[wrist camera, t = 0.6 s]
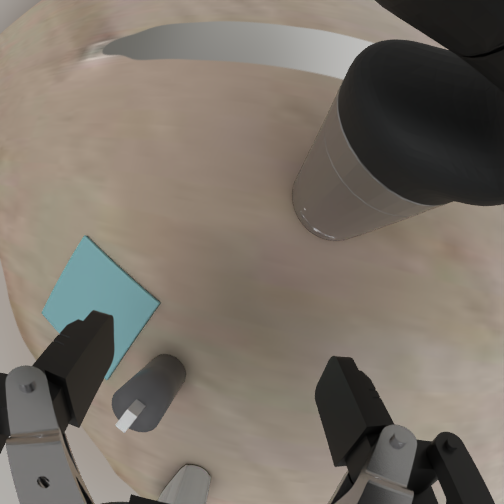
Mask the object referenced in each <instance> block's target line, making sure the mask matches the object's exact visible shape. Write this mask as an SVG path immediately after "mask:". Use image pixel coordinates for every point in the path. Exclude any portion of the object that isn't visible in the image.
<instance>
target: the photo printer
mask: <svg viewBox="0 0 504 504" xmlns="http://www.w3.org/2000/svg"><path fill="white" fill-rule="evenodd" d="M210 480H211V476H209V475H208V473H207V472H206V471H205V470H204V469H203V468H201V467H198V466H195V465H189V466H188V465H185V466H184V467H183V468H181V469H180V470H179V472H178V473H177V474H176V475H175V476H174V478H173V479H172V480H171V481H170V482H169V484H168V485H167V486H166V488H165V489H164V490H163V492H162V493H161V495H160V496H159V499H158V501H159V502H164V503H169V504H206V501H207V496H208V491H209V486H210Z"/></svg>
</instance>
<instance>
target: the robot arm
mask: <svg viewBox="0 0 504 504" xmlns="http://www.w3.org/2000/svg"><path fill="white" fill-rule="evenodd" d="M375 1H376V2H377V3H379V4H380V5H381V6H382V7H384V8H385V9H387V10H388V11H390V12H391V13H393V14H394V15H396V16H397V17H398V18H400V19H402V20H403V21H405V22H406V23H408V24H410V25H411V26H413V27H414V28H416V29H418V30H419V31H421V32H422V33H424V34H425V35H427V36H428V37H430V38H432V39H433V40H435V41H436V42H438V43H439V44H441V45H442V46H444V47H445V48H447V49H448V50H446V49H442V48H438V47H434V46H430V45H427V44H423V43H419V42H414V41H408V40H386V41H380V42H377V43H375V44H372V45H370V46H368V47H367V48H366V49H364V50H363V51H362V52H361V53H360V54H359V55H358V56H357V57H356V58H355V60H354V61H353V63H352V64H351V66H350V68H349V70H348V72H347V74H346V76H345V78H344V80H343V82H342V85H341V86H340V89H339V91H338V93H337V95H336V97H335V99H334V101H333V103H332V105H331V107H330V110H329V112H328V114H327V116H326V118H325V120H324V123H323V125H322V127H321V129H320V131H319V133H318V135H317V137H316V139H315V141H314V143H313V145H312V147H311V149H310V151H309V154H308V156H307V158H306V160H305V162H304V164H303V166H302V168H301V170H300V172H299V174H298V176H297V178H296V181H295V183H294V187H293V191H292V192H293V205H294V209H295V211H296V214H297V216H298V218H299V219H300V221H301V222H302V224H303V225H304V226H305V227H306V228H307V229H308V230H309V231H310V232H312V233H313V234H315V235H317V236H318V237H321V238H324V239H327V240H334V241H339V240H346V239H349V238H352V237H355V236H358V235H361V234H364V233H367V232H370V231H373V230H376V229H379V228H381V227H384V226H387V225H390V224H393V223H395V222H398V221H401V220H404V219H407V218H409V217H412V216H415V215H418V214H420V213H423V212H425V211H428V210H431V209H434V208H436V207H439V206H442V205H445V204H447V203H450V202H453V201H456V202H461V203H465V204H470V205H478V206H494V205H501V204H504V0H375ZM114 351H115V347H114V318H113V316H112V315H109V314H106V313H102V312H99V311H96V310H93V311H91V312H90V314H89V315H88V316H87V317H86V318H85V319H84V321H82V320H79V319H78V320H76V321H74V322H72V323H70V324H68V325H66V327H65V328H64V329H63V330H62V331H61V332H60V335H58V336H57V337H56V338H55V339H54V342H53V341H52V343H51V344H50V345H49V346H48V347H47V349H46V350H45V351H44V352H43V353H42V355H41V356H40V357H39V358H38V359H37V361H36V362H35V363H34V364H33V366H20V367H17V368H15V369H13V370H12V371H11V372H10V373H9V374H4V373H0V453H1V451H2V449H3V447H4V445H5V443H6V448H7V454H8V458H9V464H10V468H11V473H12V477H13V481H14V485H15V488H16V492H17V495H18V499H19V502H20V504H94V502H93V500H92V498H91V496H90V494H89V492H88V490H87V488H86V486H85V484H84V481H83V479H82V477H81V475H80V472H79V470H78V467H77V465H76V462H75V459H74V457H73V454H72V451H71V448H70V446H69V443H68V440H67V436H66V434H65V430H66V428H67V426H68V424H71V425H73V426H76V427H78V428H79V427H80V425H81V423H82V421H83V419H84V417H85V415H86V413H87V411H88V409H89V407H90V405H91V403H92V401H93V399H94V397H95V395H96V393H97V391H98V389H99V387H100V385H101V383H102V381H103V379H104V377H105V376H106V374H107V372H108V370H109V368H110V366H111V364H112V361H113V358H114ZM379 397H380V396H379V394H378V392H377V391H375V387H374V385H373V383H372V381H371V379H370V378H369V377H367V376H366V375H365V374H364V373H363V372H362V371H359V370H358V368H357V366H356V364H355V362H354V360H353V359H352V358H350V357H337V356H332V357H331V358H330V359H329V361H328V363H327V365H326V367H325V370H324V372H323V374H322V376H321V378H320V380H319V382H318V384H317V387H316V390H315V401H316V404H317V408H318V411H319V414H320V418H321V421H322V424H323V428H324V431H325V435H326V438H327V442H328V445H329V449H330V452H331V456H332V459H333V463H334V466H335V467H338V466H347V468H348V471H347V472H346V473H345V474H344V476H343V478H342V480H341V482H340V483H339V485H338V487H337V489H336V490H335V492H334V494H333V496H332V497H331V499H330V501H329V502H328V504H438V502H437V499H436V497H435V494H434V492H433V489H432V487H431V485H432V484H434V483H435V482H436V481H437V480H439V482H440V484H441V487H442V489H443V491H444V494H445V496H446V504H495V503H494V501H493V499H492V497H491V495H490V492H489V490H488V488H487V486H486V484H485V482H484V480H483V479H482V477H481V475H480V473H479V471H478V469H477V467H476V465H475V463H474V462H473V460H472V458H471V456H470V454H469V452H468V451H467V449H466V447H465V445H464V444H463V442H462V440H461V439H460V438H459V437H458V436H456V435H455V434H453V433H450V432H442V433H440V434H438V435H437V437H436V438H435V439H434V440H433V441H423V440H416V438H415V436H414V434H413V433H412V432H411V431H410V430H408V429H407V428H405V427H403V426H400V425H394V423H393V421H392V419H391V417H390V415H389V413H388V411H387V409H386V407H385V406H384V404H383V402H382V400H381V398H379ZM9 436H11V437H10V438H8V437H9ZM102 504H169V503H164V502H159V501H155V500H151V499H146V498H142V497H139V496H135V495H131V497H130V501H129V502H109V503H102Z"/></svg>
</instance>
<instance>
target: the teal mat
mask: <svg viewBox="0 0 504 504" xmlns="http://www.w3.org/2000/svg"><path fill="white" fill-rule="evenodd" d="M159 305H160V302H159V301H158V300H157V299H156V298H154V297H153V296H152V295H151V294H150V293H149V292H147V291H146V290H145V289H144V288H143V287H142V286H140V285H139V284H138V283H137V282H136V281H135V280H134V279H132V278H131V277H130V276H129V275H128V274H127V273H126V272H125V271H124V270H122V269H121V268H120V267H119V266H118V265H117V264H116V263H115V262H114V261H113V260H112V259H110V258H109V257H108V256H107V255H106V254H105V253H104V252H103V251H102V250H101V249H100V248H99V247H98V246H97V245H96V244H95V243H94V242H93V241H92V240H91V239H90V238H89V237H88V236H85V235H84V237H83V238H82V240H81V242H80V243H79V245H78V247H77V248H76V250H75V252H74V253H73V255H72V257H71V258H70V260H69V262H68V263H67V265H66V267H65V269H64V271H63V272H62V274H61V276H60V278H59V280H58V281H57V283H56V285H55V287H54V289H53V291H52V293H51V295H50V297H49V299H48V301H47V303H46V305H45V307H44V309H43V311H42V314H43V315H44V316H45V318H46V319H47V320H48V321H49V322H50V323H51V324H52V326H53V327H54V328H55V329H56V330H57V331H58V332H59V333H60V332H61V331H62V330H63V329H64V328H65V327H66V325H68V324H70V323H72V322H74V321H76V320H78V319H79V320H82V321H84V319H85V318H86V317H87V316H88V315H89V314H90V312H91V311H93V310H96V311H99V312H102V313H106V314H109V315H112V316H113V318H114V347H115V351H114V358H113V361H112V364H111V366H110V368H109V370H108V372H107V374H106V376H105V377H104V378H105V379H106V380H108V379H109V378H110V376H111V375H112V373H113V372H114V370H115V369H116V367H117V365H118V364H119V362H120V361H121V360H122V358H123V357H124V355H125V354H126V352H127V351H128V349H129V348H130V346H131V345H132V343H133V342H134V340H135V339H136V337H137V336H138V334H139V333H140V332H141V330H142V329H143V327H144V326H145V324H146V323H147V322H148V320H149V319H150V317H151V316H152V314H153V313H154V312H155V310H156V309H157V307H158V306H159Z"/></svg>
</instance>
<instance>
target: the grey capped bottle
mask: <svg viewBox="0 0 504 504" xmlns="http://www.w3.org/2000/svg"><path fill="white" fill-rule="evenodd" d="M185 378H186V371H185V368H184V366H183V364H182V363H181V362H180V361H179V360H178V359H177V358H175V357H173V356H171V355H166V354H163V355H159V356H157V357H155V358H154V359H153V360H152V361H151V362H149V363H148V364H147V365H146V366H145V367H144V368H143V369H142V370H140V371H139V372H138V373H137V374H136V375H135V376H134V377H132V378H131V379H130V380H129V381H128V382H127V383H126V384H124V385H123V386H122V387H121V388H120V389H119V390H117V391H116V392H115V394H114V395H113V398H112V408H113V411H114V413H115V415H116V417H117V418H118V420H119V421H118V422H117V424H116V425H115V426H116V427H118V428H119V429H120V430H121V431H123V432H124V433H125V432H126V431H127V429H128V428H129V429H132V430H134V431H138V432H148V431H151V430H153V429H154V428H155V427H156V426H157V425H158V423H159V422H160V420H161V419H162V417H163V415H164V414H165V412H166V410H167V409H168V407H169V406H170V404H171V402H172V401H173V399H174V397H175V396H176V394H177V393H178V391H179V389H180V388H181V386H182V384H183V383H184V381H185Z"/></svg>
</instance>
